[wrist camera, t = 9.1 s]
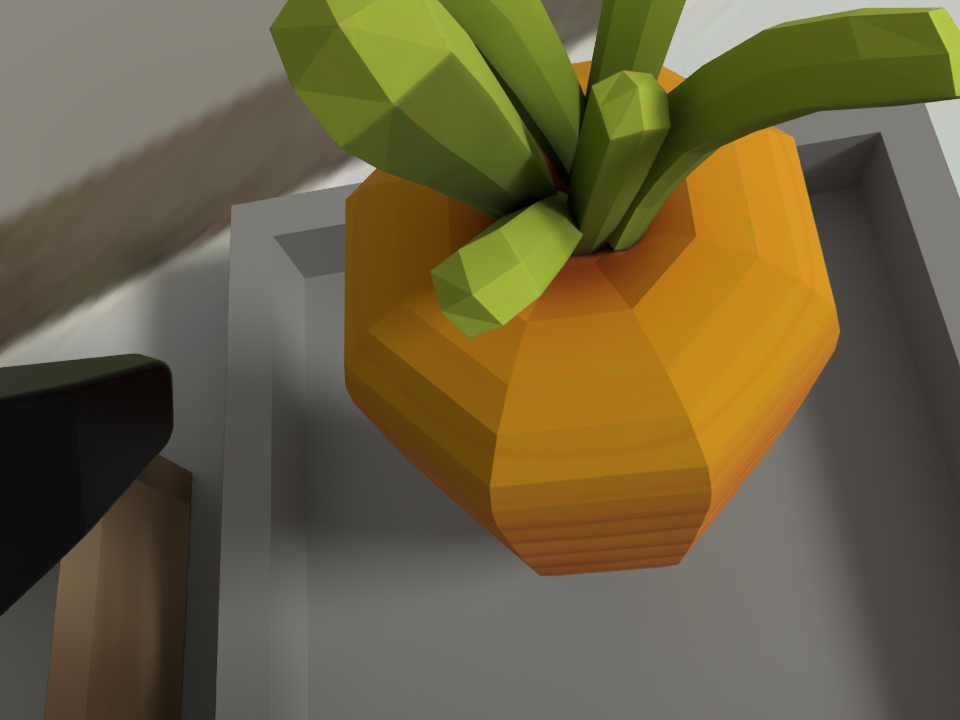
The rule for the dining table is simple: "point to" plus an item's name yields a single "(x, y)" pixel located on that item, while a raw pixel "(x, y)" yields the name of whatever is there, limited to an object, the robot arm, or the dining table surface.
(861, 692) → the grey tray
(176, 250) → the dining table surface
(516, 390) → the carrot
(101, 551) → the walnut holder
